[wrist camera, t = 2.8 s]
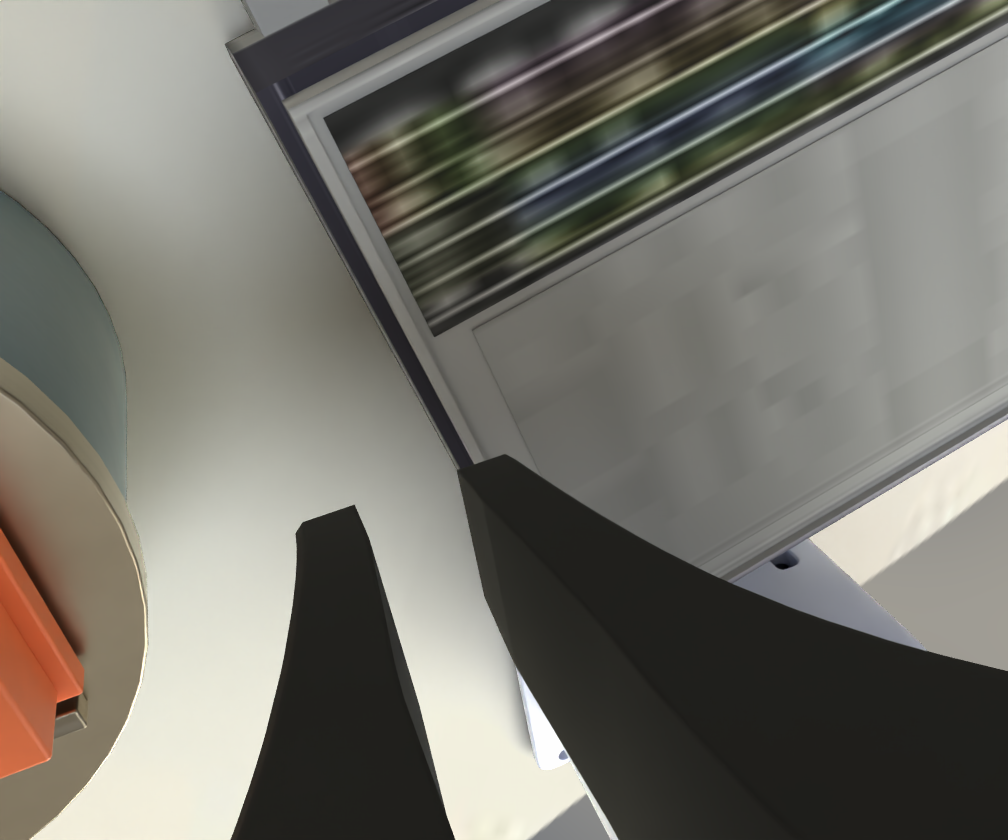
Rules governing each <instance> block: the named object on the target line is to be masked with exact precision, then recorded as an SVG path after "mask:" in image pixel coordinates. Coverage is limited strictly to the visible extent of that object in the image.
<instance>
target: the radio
mask: <svg viewBox="0 0 1008 840" xmlns="http://www.w3.org/2000/svg"><path fill="white" fill-rule="evenodd" d="M241 1H242V3H243V5H244V7H245V9H246V11H247V13H248V15H249V17H250V19H251V20H252V22H253V24H254V26H255V28H256V29H254V30H252V31H250V32H248V33H246V34H244V35H242V36H240V37H238V38H236V39H234V40H232V41H230V42H228V43H226V44H225V45H226V48H227V50H228V52H229V54H230V57H231V59H232V61H233V62H234V64H235V66H236V68H237V70H238V72H239V73H240V75H241V77H242V79H243V81H244V83H245V84H246V86H247V88H248V90H249V92H250V93H251V95H252V97H253V99H254V101H255V103H256V104H257V106H258V108H259V110H260V112H261V113H262V115H263V117H264V119H265V121H266V123H267V124H268V126H269V128H270V130H271V132H272V134H273V135H274V137H275V139H276V141H277V143H278V144H279V146H280V148H281V150H282V152H283V154H284V155H285V157H286V159H287V161H288V163H289V165H290V166H291V168H292V170H293V172H294V174H295V175H296V177H297V179H298V181H299V183H300V185H301V186H302V188H303V190H304V192H305V194H306V196H307V197H308V199H309V201H310V203H311V205H312V206H313V208H314V210H315V212H316V214H317V216H318V217H319V219H320V221H321V223H322V225H323V227H324V228H325V230H326V232H327V234H328V236H329V237H330V239H331V241H332V243H333V245H334V247H335V248H336V250H337V252H338V254H339V256H340V257H341V259H342V261H343V263H344V265H345V267H346V268H347V270H348V272H349V274H350V276H351V278H352V279H353V281H354V283H355V285H356V287H357V288H358V290H359V292H360V294H361V296H362V298H363V299H364V301H365V303H366V305H367V307H368V309H369V310H370V312H371V314H372V316H373V318H374V319H375V321H376V323H377V325H378V327H379V329H380V330H381V332H382V334H383V336H384V338H385V340H386V341H387V343H388V345H389V347H390V349H391V350H392V352H393V354H394V356H395V358H396V360H397V361H398V363H399V365H400V367H401V369H402V370H403V372H404V374H405V376H406V378H407V380H408V381H409V383H410V385H411V387H412V389H413V391H414V392H415V394H416V396H417V398H418V400H419V401H420V403H421V405H422V407H423V409H424V411H425V412H426V414H427V416H428V418H429V420H430V422H431V423H432V425H433V427H434V429H435V431H436V432H437V434H438V436H439V438H440V440H441V442H442V443H443V445H444V447H445V449H446V451H447V453H448V454H449V456H450V458H451V460H452V462H453V463H454V465H455V467H456V469H457V470H459V469H462V468H465V467H468V466H471V465H474V464H477V463H479V462H482V461H485V460H488V459H491V458H494V457H497V456H500V455H503V454H507V455H508V456H510V457H512V458H514V459H516V460H517V461H519V462H520V463H522V464H523V465H525V466H526V467H528V468H529V469H531V470H532V471H534V472H535V473H537V474H538V475H539V476H541V477H542V478H544V479H545V480H547V481H549V482H550V483H552V484H553V485H555V486H556V487H558V488H559V489H561V490H562V491H564V492H565V493H567V494H569V495H570V496H572V497H573V498H575V499H576V500H578V501H580V502H581V503H583V504H584V505H586V506H588V507H589V508H591V509H592V510H594V511H596V512H597V513H599V514H601V515H602V516H604V517H606V518H607V519H609V520H611V521H613V522H614V523H616V524H618V525H620V526H621V527H623V528H625V529H626V530H628V531H630V532H632V533H633V534H635V535H637V536H639V537H640V538H642V539H644V540H646V541H648V542H649V543H651V544H653V545H655V546H657V547H659V548H660V549H662V550H664V551H666V552H668V553H670V554H672V555H674V556H676V557H678V558H680V559H682V560H684V561H686V562H688V563H690V564H692V565H694V566H696V567H698V568H700V569H702V570H704V571H706V572H708V573H710V574H712V575H714V576H716V577H719V578H721V579H723V580H725V581H727V582H730V583H734V582H736V581H737V580H739V579H741V578H742V577H744V576H746V575H747V574H749V573H751V572H752V571H754V570H756V569H757V568H759V567H761V566H762V565H764V564H766V563H767V562H769V561H771V560H773V559H774V558H776V557H778V556H779V555H781V554H783V553H784V552H786V551H788V550H789V549H791V548H793V547H794V546H796V545H798V544H799V543H801V542H803V541H804V540H806V539H808V538H809V537H811V536H813V535H814V534H816V533H818V532H819V531H821V530H823V529H824V528H826V527H828V526H830V525H831V524H833V523H835V522H836V521H838V520H840V519H841V518H843V517H845V516H846V515H848V514H850V513H851V512H853V511H855V510H856V509H858V508H860V507H861V506H863V505H865V504H866V503H868V502H870V501H871V500H873V499H875V498H876V497H878V496H880V495H881V494H883V493H885V492H887V491H888V490H890V489H892V488H893V487H895V486H897V485H898V484H900V483H902V482H903V481H905V480H907V479H908V478H910V477H912V476H913V475H915V474H917V473H918V472H920V471H922V470H923V469H925V468H927V467H928V466H930V465H932V464H933V463H935V462H937V461H938V460H940V459H942V458H944V457H945V456H947V455H949V454H950V453H952V452H954V451H955V450H957V449H959V448H960V447H962V446H964V445H965V444H967V443H969V442H970V441H972V440H974V439H975V438H977V437H979V436H980V435H982V434H984V433H985V432H987V431H989V430H990V429H992V428H994V427H995V426H997V425H999V424H1001V423H1002V422H1004V421H1006V420H1007V419H1008V0H241Z"/></svg>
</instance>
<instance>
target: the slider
mask: <svg viewBox="0 0 1008 840" xmlns="http://www.w3.org/2000/svg"><path fill="white" fill-rule="evenodd" d="M83 686H84V668H83V666H82V664H81V663H80V661H79V659H78V658H77V656H76V654H75V653H74V651H73V649H72V648H71V646H70V644H69V643H68V641H67V639H66V637H65V636H64V634H63V632H62V631H61V629H60V627H59V626H58V624H57V622H56V621H55V619H54V617H53V616H52V614H51V612H50V611H49V609H48V607H47V606H46V604H45V602H44V600H43V599H42V597H41V595H40V594H39V592H38V590H37V589H36V587H35V585H34V584H33V582H32V580H31V579H30V577H29V575H28V574H27V572H26V570H25V569H24V567H23V565H22V563H21V562H20V560H19V558H18V557H17V555H16V553H15V552H14V550H13V548H12V547H11V545H10V543H9V542H8V540H7V538H6V537H5V535H4V533H3V532H2V530H1V528H0V779H1V778H4V777H6V776H9V775H12V774H14V773H17V772H20V771H22V770H25V769H28V768H30V767H33V766H36V765H38V764H41V763H44V762H46V761H48V760H49V759H51V757H52V749H53V738H54V726H55V715H56V704H57V703H58V702H60V701H63V700H66V699H69V698H72V697H74V696H77V695H80V694H81V693H82V692H83Z"/></svg>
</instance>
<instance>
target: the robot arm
mask: <svg viewBox="0 0 1008 840" xmlns="http://www.w3.org/2000/svg"><path fill="white" fill-rule="evenodd" d="M457 473H458V477H459V482H460V487H461V491H462V496H463V500H464V505H465V510H466V514H467V519H468V523H469V528H470V532H471V537H472V542H473V546H474V551H475V555H476V560H477V565H478V569H479V574H480V578H481V583H482V587H483V592H484V597H485V599H486V601H487V603H488V606H489V608H490V610H491V613H492V615H493V617H494V619H495V622H496V624H497V626H498V628H499V631H500V633H501V635H502V637H503V640H504V642H505V644H506V646H507V648H508V651H509V653H510V655H511V657H512V659H513V661H514V664H515V666H516V671H517V676H518V681H519V686H520V691H521V696H522V700H523V705H524V710H525V715H526V720H527V725H528V730H529V735H530V740H531V745H532V749H533V754H534V758H535V760H536V762H537V765H538V766H539V768H541V769H543V770H550V769H553V768H556V767H558V766H560V765H563V764H565V763H567V762H571V764H572V766H573V768H574V770H575V772H576V774H577V776H578V778H579V780H580V781H581V783H582V785H583V787H584V789H585V791H586V793H587V795H588V797H589V799H590V801H591V803H592V805H593V807H594V808H595V810H596V812H597V814H598V816H599V818H600V820H601V822H602V824H603V826H604V828H605V830H606V832H607V833H608V835H609V837H610V839H611V840H1008V671H1004V670H1000V669H996V668H992V667H988V666H984V665H979V664H975V663H972V662H968V661H964V660H959V659H955V658H951V657H947V656H943V655H939V654H936V653H932V652H929V651H927V650H926V649H925V647H924V646H923V645H922V644H921V643H920V642H919V641H918V640H917V639H916V638H915V637H914V636H913V635H912V634H911V633H910V632H909V631H908V630H907V629H906V628H905V627H904V626H903V625H902V624H900V623H899V622H898V621H897V620H896V619H895V618H894V617H893V616H892V615H891V614H889V612H887V611H886V610H885V609H884V608H883V607H882V606H881V605H880V604H879V603H878V602H877V601H876V600H874V599H873V598H872V597H871V596H870V595H869V594H868V593H867V592H866V591H865V590H864V589H863V588H862V587H860V586H859V585H858V584H857V583H856V582H855V581H854V580H853V579H852V578H851V577H850V576H849V575H847V574H846V573H845V572H844V571H843V570H842V569H841V568H840V567H839V566H838V565H837V564H836V563H834V562H833V561H832V560H831V559H830V558H829V557H828V556H827V555H826V554H825V553H824V552H823V551H821V550H820V549H819V548H818V547H817V546H816V545H815V544H814V543H813V542H812V541H811V540H810V539H806V540H804V541H803V542H801V543H799V544H798V545H796V546H794V547H793V548H791V549H789V550H788V551H786V552H784V553H783V554H781V555H779V556H778V557H776V558H774V559H773V560H771V561H769V562H767V563H766V564H764V565H762V566H761V567H759V568H757V569H756V570H754V571H752V572H751V573H749V574H747V575H746V576H744V577H742V578H741V579H739V580H737V581H736V582H734V583H730V582H727V581H725V580H723V579H721V578H719V577H716V576H714V575H712V574H710V573H708V572H706V571H704V570H702V569H700V568H698V567H696V566H694V565H692V564H690V563H688V562H686V561H684V560H682V559H680V558H678V557H676V556H674V555H672V554H670V553H668V552H666V551H664V550H662V549H660V548H659V547H657V546H655V545H653V544H651V543H649V542H648V541H646V540H644V539H642V538H640V537H639V536H637V535H635V534H633V533H632V532H630V531H628V530H626V529H625V528H623V527H621V526H620V525H618V524H616V523H614V522H613V521H611V520H609V519H607V518H606V517H604V516H602V515H601V514H599V513H597V512H596V511H594V510H592V509H591V508H589V507H588V506H586V505H584V504H583V503H581V502H580V501H578V500H576V499H575V498H573V497H572V496H570V495H569V494H567V493H565V492H564V491H562V490H561V489H559V488H558V487H556V486H555V485H553V484H552V483H550V482H549V481H547V480H545V479H544V478H542V477H541V476H539V475H538V474H537V473H535V472H534V471H532V470H531V469H529V468H528V467H526V466H525V465H523V464H522V463H520V462H519V461H517V460H516V459H514V458H512V457H510V456H508V455H507V454H503V455H500V456H497V457H494V458H491V459H488V460H485V461H482V462H479V463H477V464H474V465H471V466H468V467H465V468H462V469H459V470H457ZM296 543H297V566H296V581H295V590H294V599H293V607H292V614H291V620H290V625H289V631H288V637H287V643H286V649H285V655H284V660H283V665H282V670H281V674H280V678H279V682H278V686H277V690H276V694H275V698H274V702H273V706H272V710H271V714H270V718H269V722H268V726H267V730H266V734H265V738H264V741H263V745H262V748H261V751H260V755H259V758H258V761H257V765H256V768H255V771H254V774H253V777H252V780H251V784H250V787H249V790H248V792H247V795H246V798H245V801H244V804H243V807H242V810H241V813H240V816H239V818H238V821H237V824H236V827H235V830H234V832H233V835H232V837H231V840H455V838H454V835H453V832H452V829H451V827H450V824H449V821H448V818H447V816H446V811H445V807H444V803H443V799H442V795H441V791H440V787H439V783H438V779H437V775H436V771H435V767H434V763H433V759H432V755H431V751H430V747H429V743H428V739H427V735H426V731H425V726H424V722H423V718H422V714H421V710H420V706H419V703H418V699H417V696H416V693H415V690H414V686H413V683H412V680H411V676H410V673H409V670H408V666H407V663H406V660H405V656H404V653H403V650H402V646H401V643H400V640H399V636H398V633H397V630H396V627H395V623H394V620H393V617H392V613H391V610H390V607H389V603H388V600H387V597H386V593H385V590H384V587H383V583H382V580H381V577H380V573H379V570H378V567H377V563H376V560H375V557H374V554H373V550H372V547H371V544H370V540H369V537H368V535H367V533H366V530H365V528H364V525H363V523H362V521H361V518H360V516H359V514H358V512H357V509H356V507H355V505H352V506H349V507H346V508H343V509H340V510H338V511H335V512H332V513H329V514H326V515H323V516H320V517H317V518H314V519H311V520H308V521H305V522H303V523H302V524H301V526H300V527H299V529H298V530H297V532H296Z"/></svg>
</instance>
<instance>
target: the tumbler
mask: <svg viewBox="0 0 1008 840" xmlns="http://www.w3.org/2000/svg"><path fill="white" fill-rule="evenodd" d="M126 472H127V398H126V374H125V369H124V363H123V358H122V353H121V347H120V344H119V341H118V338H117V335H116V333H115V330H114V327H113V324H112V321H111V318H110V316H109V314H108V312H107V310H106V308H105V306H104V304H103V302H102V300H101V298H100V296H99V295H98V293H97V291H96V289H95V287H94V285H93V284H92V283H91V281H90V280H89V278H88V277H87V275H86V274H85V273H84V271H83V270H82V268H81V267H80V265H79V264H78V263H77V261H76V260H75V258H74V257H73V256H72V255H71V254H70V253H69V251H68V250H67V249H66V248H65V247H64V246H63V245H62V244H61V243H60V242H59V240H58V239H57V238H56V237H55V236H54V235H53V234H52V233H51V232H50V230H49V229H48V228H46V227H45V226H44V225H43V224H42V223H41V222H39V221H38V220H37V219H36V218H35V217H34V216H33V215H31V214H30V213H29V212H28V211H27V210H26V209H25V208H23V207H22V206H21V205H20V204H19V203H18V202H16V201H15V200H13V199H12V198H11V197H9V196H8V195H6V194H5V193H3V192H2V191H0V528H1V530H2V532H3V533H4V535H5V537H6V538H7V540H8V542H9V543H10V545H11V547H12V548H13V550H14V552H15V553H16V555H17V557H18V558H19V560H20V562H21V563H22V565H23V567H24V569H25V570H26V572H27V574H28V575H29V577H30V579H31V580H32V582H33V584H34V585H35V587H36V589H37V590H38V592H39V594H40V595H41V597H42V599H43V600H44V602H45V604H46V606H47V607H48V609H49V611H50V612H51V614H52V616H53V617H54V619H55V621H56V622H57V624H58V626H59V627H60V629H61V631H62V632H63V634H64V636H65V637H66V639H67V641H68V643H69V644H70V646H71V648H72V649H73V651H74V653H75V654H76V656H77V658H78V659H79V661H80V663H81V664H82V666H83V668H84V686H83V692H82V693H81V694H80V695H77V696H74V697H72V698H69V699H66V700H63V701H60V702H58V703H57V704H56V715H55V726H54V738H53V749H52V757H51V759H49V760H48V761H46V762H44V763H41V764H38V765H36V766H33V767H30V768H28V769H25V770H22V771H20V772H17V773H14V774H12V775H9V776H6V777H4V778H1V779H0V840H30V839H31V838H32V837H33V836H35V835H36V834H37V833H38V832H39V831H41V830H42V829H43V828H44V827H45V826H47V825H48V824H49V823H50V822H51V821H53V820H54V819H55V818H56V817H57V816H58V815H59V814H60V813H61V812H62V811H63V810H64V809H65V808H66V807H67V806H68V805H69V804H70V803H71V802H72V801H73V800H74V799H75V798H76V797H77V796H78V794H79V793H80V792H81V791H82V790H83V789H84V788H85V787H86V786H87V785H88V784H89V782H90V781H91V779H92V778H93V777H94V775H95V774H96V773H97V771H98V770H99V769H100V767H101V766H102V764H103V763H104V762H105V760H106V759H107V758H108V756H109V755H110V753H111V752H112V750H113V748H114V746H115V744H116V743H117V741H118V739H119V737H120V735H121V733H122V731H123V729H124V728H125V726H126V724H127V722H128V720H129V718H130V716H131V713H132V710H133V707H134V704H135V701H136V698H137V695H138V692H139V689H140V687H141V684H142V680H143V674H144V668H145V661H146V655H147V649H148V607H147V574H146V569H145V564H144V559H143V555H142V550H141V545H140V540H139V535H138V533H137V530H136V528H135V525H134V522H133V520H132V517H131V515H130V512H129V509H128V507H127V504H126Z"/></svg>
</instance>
